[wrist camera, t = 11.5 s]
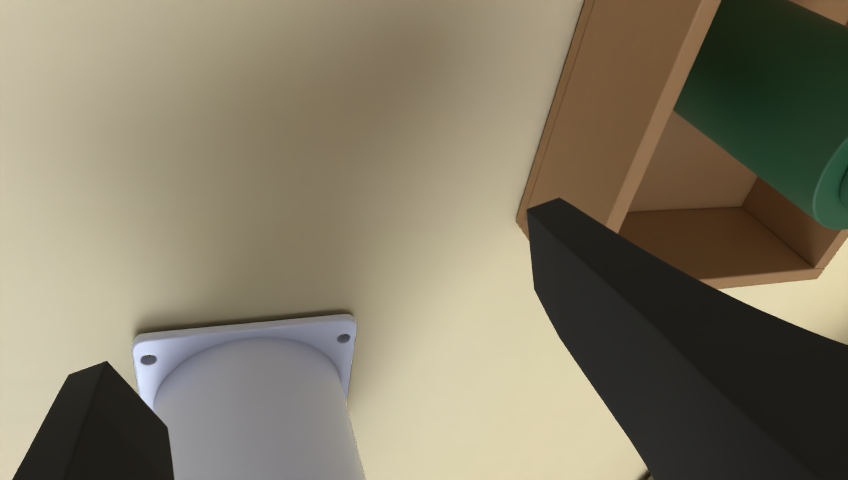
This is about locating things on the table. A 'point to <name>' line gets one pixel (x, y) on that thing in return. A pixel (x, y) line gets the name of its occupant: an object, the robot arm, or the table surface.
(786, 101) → the bottle
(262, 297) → the table surface
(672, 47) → the box
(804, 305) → the table surface
